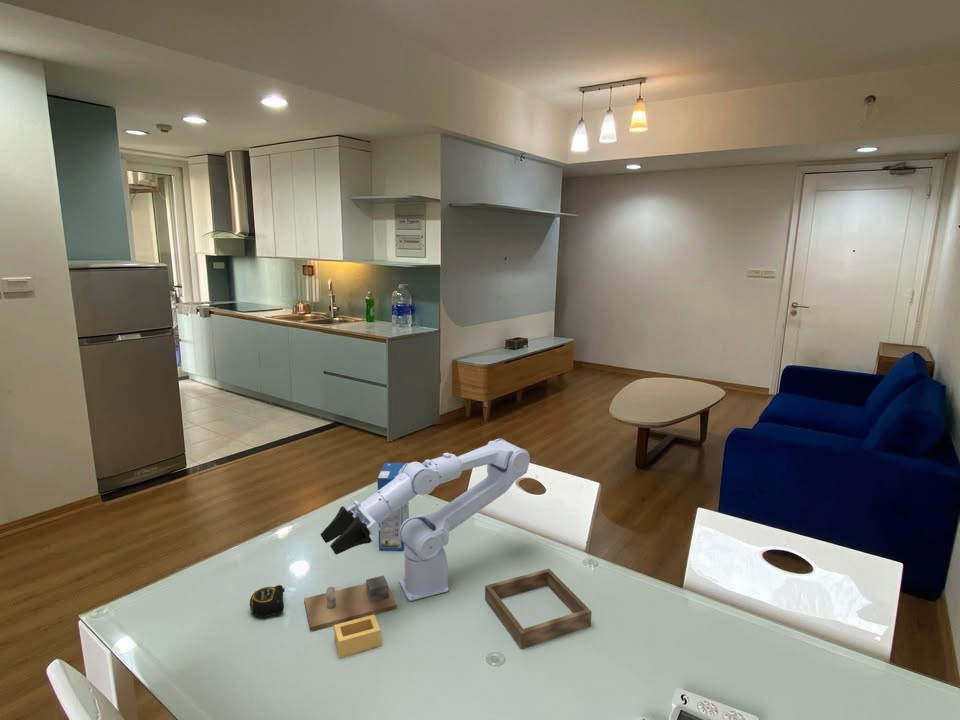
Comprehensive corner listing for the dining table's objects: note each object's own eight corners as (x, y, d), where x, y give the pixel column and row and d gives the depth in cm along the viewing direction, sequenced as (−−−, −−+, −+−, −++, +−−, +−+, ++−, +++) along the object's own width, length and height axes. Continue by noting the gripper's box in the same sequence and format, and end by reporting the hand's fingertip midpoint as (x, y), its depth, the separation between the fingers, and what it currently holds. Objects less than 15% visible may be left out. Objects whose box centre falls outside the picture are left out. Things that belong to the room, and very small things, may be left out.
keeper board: (385, 582, 125) (384, 563, 124) (397, 608, 116) (396, 587, 115) (304, 602, 118) (303, 581, 117) (310, 631, 109) (309, 609, 108)
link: (374, 629, 110) (374, 614, 109) (380, 645, 106) (380, 630, 105) (334, 640, 107) (333, 625, 106) (339, 657, 102) (338, 641, 102)
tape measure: (284, 617, 114) (283, 601, 113) (249, 623, 111) (247, 607, 111) (285, 597, 120) (284, 582, 119) (252, 602, 118) (250, 587, 117)
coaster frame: (548, 582, 127) (549, 568, 126) (590, 626, 112) (591, 611, 111) (485, 599, 120) (485, 585, 119) (520, 649, 105) (521, 633, 105)
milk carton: (403, 551, 138) (402, 478, 134) (379, 550, 138) (377, 478, 134) (408, 531, 148) (408, 463, 144) (386, 530, 148) (384, 462, 144)
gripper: (363, 480, 119) (309, 519, 113) (387, 495, 107) (327, 539, 101) (379, 506, 121) (326, 545, 115) (403, 523, 109) (345, 568, 103)
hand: (327, 544), depth 108 cm, fingers open, 7 cm apart
